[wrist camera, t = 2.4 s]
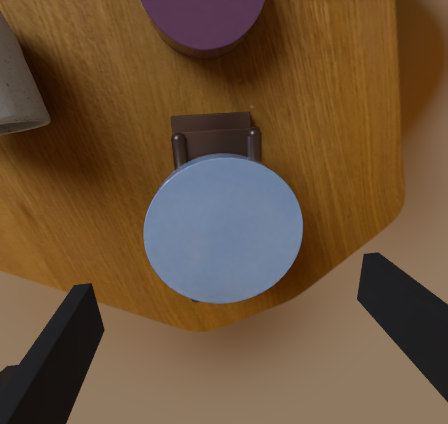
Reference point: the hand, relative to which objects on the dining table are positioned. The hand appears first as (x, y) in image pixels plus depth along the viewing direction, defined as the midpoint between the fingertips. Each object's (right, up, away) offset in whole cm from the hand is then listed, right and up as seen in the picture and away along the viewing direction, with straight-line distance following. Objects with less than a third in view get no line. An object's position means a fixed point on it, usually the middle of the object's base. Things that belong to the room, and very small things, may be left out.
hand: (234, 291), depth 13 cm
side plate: (-1, +3, +7) cm, 8 cm away
